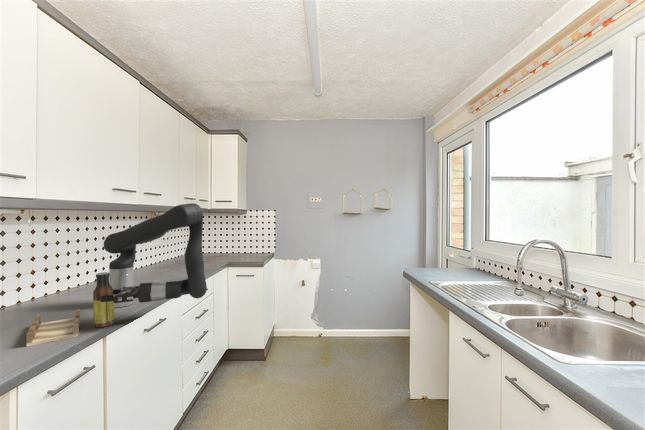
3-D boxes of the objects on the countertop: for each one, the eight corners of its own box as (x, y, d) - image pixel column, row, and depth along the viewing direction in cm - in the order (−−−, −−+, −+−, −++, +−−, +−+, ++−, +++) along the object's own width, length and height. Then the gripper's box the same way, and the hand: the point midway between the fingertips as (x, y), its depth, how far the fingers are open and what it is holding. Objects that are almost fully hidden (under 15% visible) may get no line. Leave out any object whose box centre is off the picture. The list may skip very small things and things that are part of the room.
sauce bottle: (111, 320, 113) (112, 270, 112) (116, 324, 109) (117, 272, 108) (91, 325, 107) (91, 273, 107) (95, 329, 103) (95, 275, 103)
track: (36, 326, 106) (36, 316, 106) (80, 319, 114) (80, 309, 114) (26, 346, 90) (26, 334, 90) (78, 336, 98) (78, 324, 98)
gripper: (155, 278, 121) (109, 282, 114) (150, 286, 108) (98, 291, 101) (155, 296, 121) (109, 300, 114) (150, 306, 108) (98, 311, 101)
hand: (104, 296), depth 108 cm, fingers open, 8 cm apart
